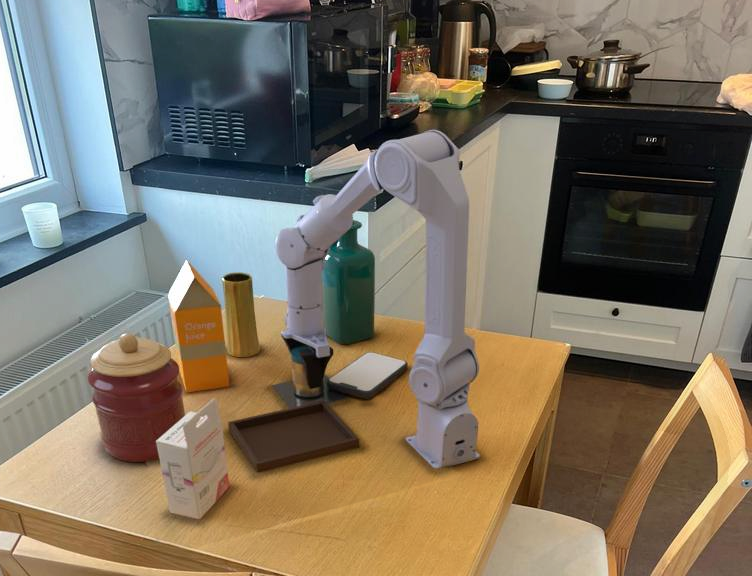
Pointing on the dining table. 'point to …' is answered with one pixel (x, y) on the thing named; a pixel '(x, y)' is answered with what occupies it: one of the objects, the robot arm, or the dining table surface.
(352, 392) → the phone case
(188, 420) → the ink cartridge box
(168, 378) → the kitchen canister
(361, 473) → the dining table surface
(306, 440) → the tray
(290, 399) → the slate coaster
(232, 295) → the vase
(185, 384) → the orange juice
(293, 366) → the teal lidded glass jar
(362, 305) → the green glass bottle
